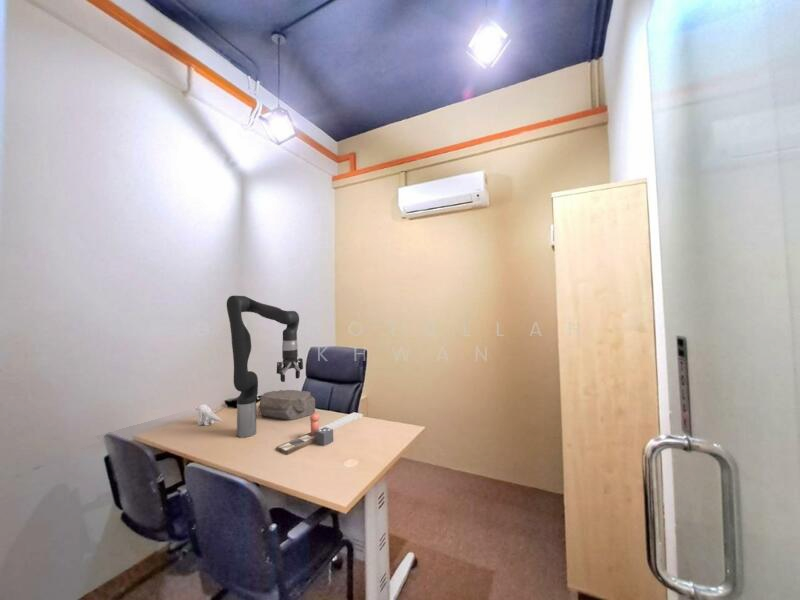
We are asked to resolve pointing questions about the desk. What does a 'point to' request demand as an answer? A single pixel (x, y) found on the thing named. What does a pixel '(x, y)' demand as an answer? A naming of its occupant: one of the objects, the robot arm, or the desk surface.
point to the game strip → (296, 444)
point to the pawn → (314, 423)
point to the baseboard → (342, 421)
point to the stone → (287, 404)
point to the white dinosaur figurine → (206, 415)
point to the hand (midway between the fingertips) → (290, 380)
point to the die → (324, 436)
